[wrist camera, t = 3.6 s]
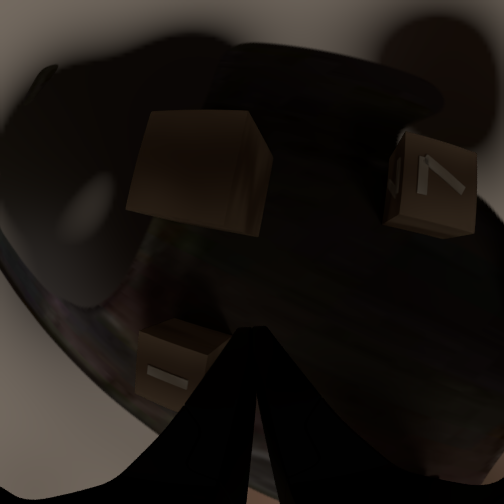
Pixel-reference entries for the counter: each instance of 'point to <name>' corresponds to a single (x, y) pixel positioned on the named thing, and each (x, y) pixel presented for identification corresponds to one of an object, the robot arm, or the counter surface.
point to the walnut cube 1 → (175, 360)
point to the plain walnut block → (203, 170)
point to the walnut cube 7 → (431, 188)
